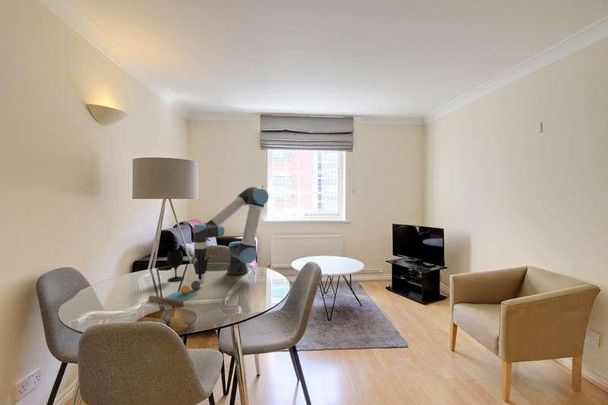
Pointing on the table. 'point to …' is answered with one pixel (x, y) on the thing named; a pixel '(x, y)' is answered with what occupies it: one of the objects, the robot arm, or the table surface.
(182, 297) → the teal mark
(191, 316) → the table surface
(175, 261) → the wine glass
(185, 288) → the orange ball
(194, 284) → the charcoal ball
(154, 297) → the stopper wall
